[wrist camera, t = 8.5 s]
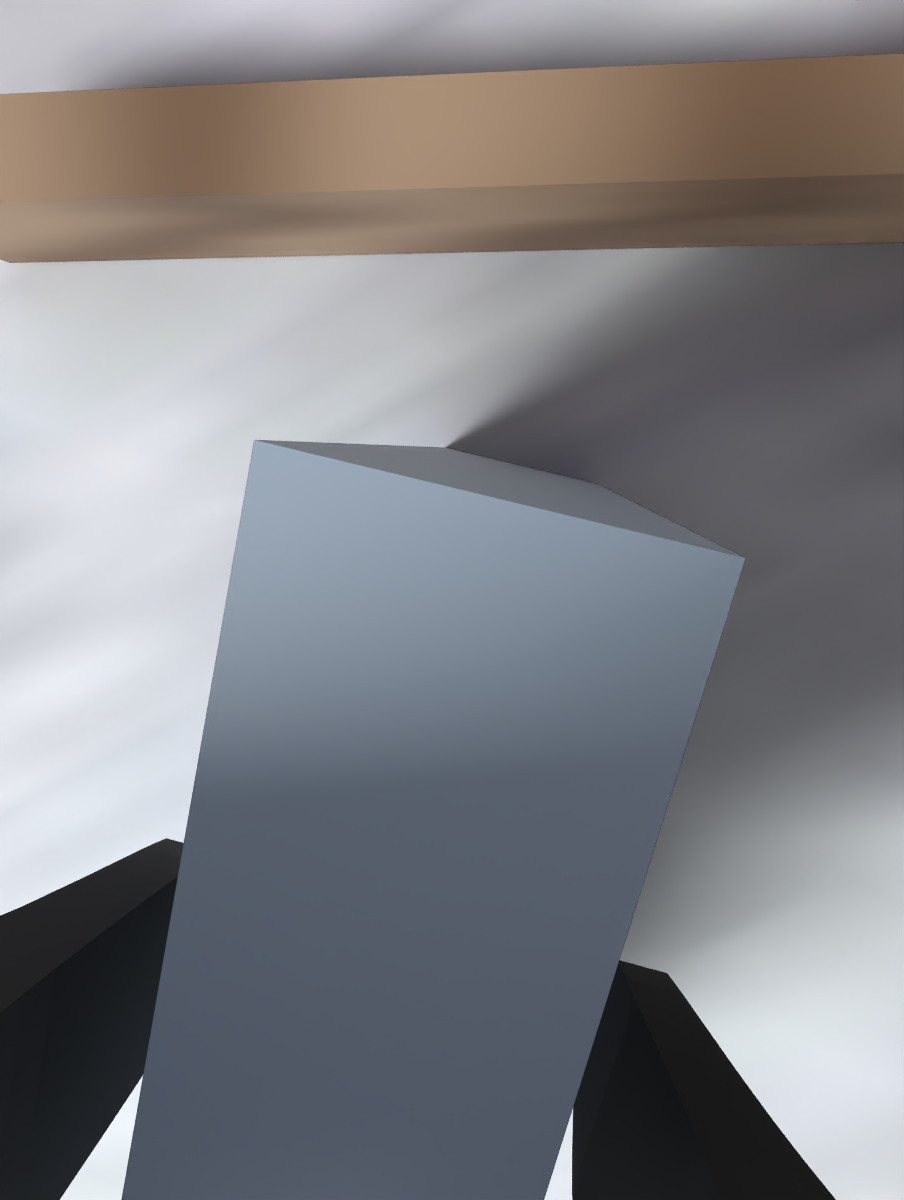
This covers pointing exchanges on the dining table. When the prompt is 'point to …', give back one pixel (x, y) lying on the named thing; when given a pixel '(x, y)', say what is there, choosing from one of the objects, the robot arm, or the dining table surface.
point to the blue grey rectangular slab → (416, 824)
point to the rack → (460, 162)
